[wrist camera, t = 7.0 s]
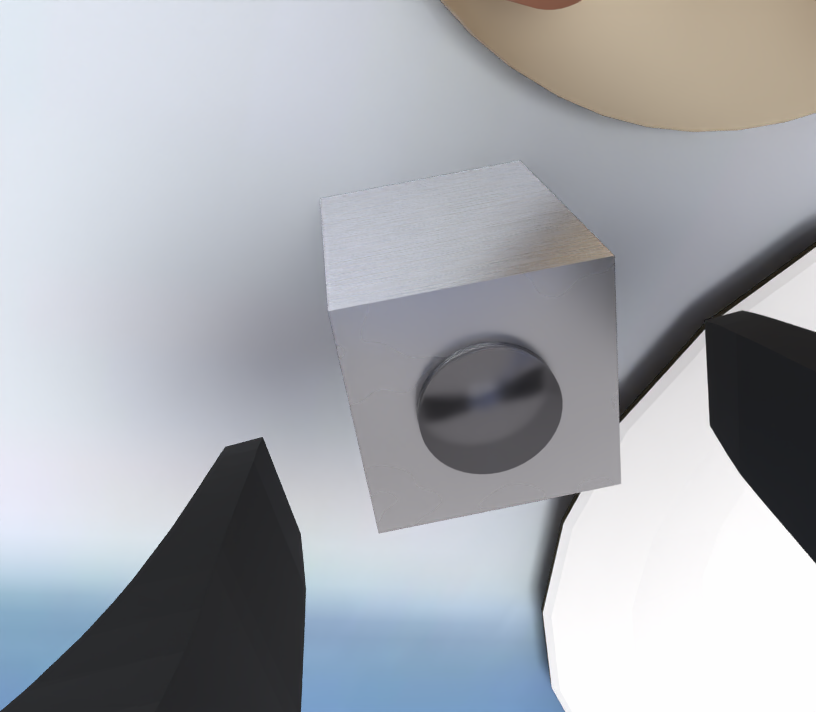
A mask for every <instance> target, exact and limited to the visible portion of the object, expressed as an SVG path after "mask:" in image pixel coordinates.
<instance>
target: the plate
mask: <svg viewBox="0 0 816 712" xmlns="http://www.w3.org/2000/svg"><path fill="white" fill-rule="evenodd" d="M741 310H743V311H748V312H752V313H756V314H760V315H763V316H767V317H770V318H774V319H777V320H780V321H783V322H786V323H790V324H793V325H796V326H799V327H802V328H805V329H808V330H811V331H814V332H816V242H815V243H814V244H812V245H811V246H810V247H808V248H807V249H806V250H804V251H803V252H801V253H800V254H799V255H797V256H796V257H795V258H793V259H792V260H791V261H789V262H788V263H786V264H785V265H784V266H782V267H781V268H780V269H778V270H777V271H775V272H774V273H773V274H771V275H770V276H769V277H767V278H766V279H765V280H763V281H762V282H760V283H759V284H758V285H756V286H755V287H754V288H752V289H751V290H749V291H748V292H747V293H745V294H744V295H743V296H741V297H740V298H738V299H737V300H736V301H734V302H733V303H732V304H730V305H729V306H728V307H726V308H725V309H723V310H722V311H721V312H719V313H718V314H717V315H715V316H714V317H712V318H715V317H719V316H722V315H726V314H730V313H734V312H737V311H741ZM619 425H620V459H621V484H619V485H614V486H609V487H604V488H599V489H595V490H590V491H585V492H580V493H576V495H575V497H574V498H573V500H572V502H571V504H570V506H569V508H568V509H567V511H566V513H565V515H564V517H563V518H562V521H561V526H560V530H559V534H558V539H557V543H556V548H555V552H554V556H553V561H552V565H551V569H550V574H549V578H548V582H547V587H546V591H545V595H544V600H543V604H542V616H543V624H544V633H545V641H546V649H547V657H548V665H549V674H550V682H551V685H552V689H553V691H554V692H555V694H556V696H557V698H558V699H559V701H560V703H561V705H562V706H563V708H564V710H565V712H816V563H815V562H814V561H813V560H812V559H811V558H810V556H809V555H808V554H807V553H806V552H805V551H804V549H803V548H802V547H801V546H800V545H799V544H798V542H797V541H796V540H795V539H794V538H793V537H792V535H791V534H790V533H789V532H788V531H787V530H786V528H785V527H784V526H783V525H782V524H781V523H780V521H779V520H778V519H777V518H776V517H775V516H774V514H773V513H772V512H771V511H770V510H769V508H768V507H767V506H766V505H765V504H764V503H763V501H762V500H761V499H760V498H759V497H758V495H757V494H756V493H755V492H754V491H753V489H752V488H751V487H750V486H749V485H748V483H747V482H746V481H745V480H744V478H743V477H742V476H741V475H740V473H739V472H738V470H737V469H736V467H735V466H734V464H733V463H732V461H731V460H730V458H729V456H728V455H727V453H726V452H725V450H724V448H723V447H722V445H721V443H720V442H719V440H718V438H717V437H716V435H715V434H714V432H713V430H712V429H711V427H710V422H709V401H708V381H707V360H706V340H705V324H704V325H703V326H702V327H701V328H700V329H699V330H698V331H697V333H696V334H695V335H694V336H693V337H692V338H691V339H690V340H689V341H688V343H687V344H686V345H685V346H684V347H683V348H682V349H681V350H680V351H679V352H678V354H677V355H676V356H675V357H674V358H673V359H672V360H671V361H670V362H669V363H668V365H667V366H666V367H665V368H664V369H663V370H662V371H661V372H660V373H659V375H658V376H657V377H656V378H655V379H654V380H653V381H652V382H651V383H650V384H649V386H648V387H647V388H646V389H645V390H644V391H643V392H642V393H641V394H640V396H639V397H638V398H637V399H636V400H635V401H634V402H633V403H632V404H631V405H630V407H629V408H628V409H627V410H626V411H625V412H624V413H623V414H622V415H621V417H620V418H619Z"/></svg>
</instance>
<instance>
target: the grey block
mask: <svg viewBox="0 0 816 712" xmlns="http://www.w3.org/2000/svg"><path fill="white" fill-rule="evenodd" d="M320 205H321V219H322V233H323V247H324V261H325V275H326V290H327V304H328V313H329V318H330V322H331V326H332V331H333V335H334V340H335V344H336V348H337V353H338V357H339V361H340V366H341V370H342V375H343V379H344V383H345V388H346V392H347V396H348V401H349V405H350V409H351V414H352V418H353V423H354V427H355V431H356V436H357V440H358V444H359V449H360V453H361V458H362V462H363V466H364V471H365V475H366V479H367V484H368V488H369V492H370V497H371V501H372V506H373V510H374V514H375V519H376V523H377V527H378V532H379V533H383V532H388V531H393V530H398V529H403V528H408V527H413V526H418V525H423V524H428V523H432V522H437V521H442V520H447V519H452V518H457V517H462V516H467V515H472V514H477V513H482V512H486V511H491V510H496V509H501V508H506V507H511V506H516V505H521V504H526V503H531V502H536V501H540V500H545V499H550V498H555V497H560V496H565V495H570V494H575V493H580V492H585V491H590V490H595V489H599V488H604V487H609V486H614V485H619V484H621V459H620V425H619V392H618V358H617V324H616V291H615V257H614V255H613V254H612V253H611V252H610V251H609V250H608V249H607V248H606V247H605V246H604V245H603V244H602V243H601V242H600V241H599V240H598V239H597V238H596V237H595V236H594V235H593V234H592V233H591V232H590V231H589V230H588V229H587V228H586V227H585V226H584V225H583V224H582V223H581V222H580V221H579V220H578V219H577V218H576V216H575V215H574V214H573V213H572V212H571V211H570V210H569V209H568V208H567V207H566V206H565V205H564V204H563V203H562V202H561V201H560V200H559V199H558V198H557V197H556V196H555V195H554V194H553V193H552V192H551V191H550V190H549V189H548V188H547V187H546V186H545V185H544V184H543V183H542V182H541V181H540V180H539V179H538V178H537V177H536V176H535V175H534V174H533V173H532V172H531V171H530V170H529V169H528V168H527V167H526V166H525V165H524V164H523V163H522V162H521V161H520V160H519V161H514V162H509V163H503V164H498V165H493V166H488V167H482V168H477V169H472V170H466V171H461V172H456V173H451V174H445V175H440V176H435V177H430V178H424V179H419V180H414V181H409V182H403V183H398V184H393V185H387V186H382V187H377V188H372V189H366V190H361V191H356V192H351V193H345V194H340V195H335V196H330V197H324V198H320Z"/></svg>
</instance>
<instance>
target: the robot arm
mask: <svg viewBox="0 0 816 712" xmlns="http://www.w3.org/2000/svg"><path fill="white" fill-rule="evenodd" d="M705 340H706V360H707V381H708V401H709V422H710V427H711V429H712V430H713V432H714V434H715V435H716V437H717V438H718V440H719V442H720V443H721V445H722V447H723V448H724V450H725V452H726V453H727V455H728V456H729V458H730V460H731V461H732V463H733V464H734V466H735V467H736V469H737V470H738V472H739V473H740V475H741V476H742V477H743V478H744V480H745V481H746V482H747V483H748V485H749V486H750V487H751V488H752V489H753V491H754V492H755V493H756V494H757V495H758V497H759V498H760V499H761V500H762V501H763V503H764V504H765V505H766V506H767V507H768V508H769V510H770V511H771V512H772V513H773V514H774V516H775V517H776V518H777V519H778V520H779V521H780V523H781V524H782V525H783V526H784V527H785V528H786V530H787V531H788V532H789V533H790V534H791V535H792V537H793V538H794V539H795V540H796V541H797V542H798V544H799V545H800V546H801V547H802V548H803V549H804V551H805V552H806V553H807V554H808V555H809V556H810V558H811V559H812V560H813V561H814V562H815V563H816V332H814V331H811V330H808V329H805V328H802V327H799V326H796V325H793V324H790V323H786V322H783V321H780V320H777V319H774V318H770V317H767V316H763V315H760V314H756V313H752V312H748V311H743V310H741V311H737V312H734V313H730V314H726V315H722V316H719V317H715V318H711V319H707V320H705ZM305 599H306V586H305V574H304V562H303V552H302V543H301V533H300V531H299V528H298V526H297V523H296V521H295V518H294V516H293V513H292V511H291V508H290V505H289V503H288V500H287V498H286V495H285V493H284V490H283V488H282V485H281V482H280V480H279V477H278V475H277V472H276V470H275V467H274V465H273V462H272V459H271V457H270V454H269V452H268V449H267V447H266V444H265V442H264V439H263V437H261V438H257V439H253V440H250V441H246V442H242V443H238V444H235V445H231V446H227V447H225V448H224V450H223V451H222V453H221V454H220V455H219V457H218V458H217V460H216V462H215V463H214V465H213V466H212V468H211V469H210V471H209V472H208V474H207V475H206V477H205V479H204V480H203V482H202V483H201V485H200V486H199V488H198V489H197V491H196V492H195V494H194V495H193V497H192V498H191V500H190V501H189V503H188V504H187V506H186V507H185V509H184V510H183V512H182V513H181V515H180V516H179V518H178V519H177V521H176V522H175V524H174V525H173V527H172V528H171V529H170V531H169V532H168V534H167V535H166V536H165V537H164V539H163V540H162V541H161V543H160V544H159V545H158V547H157V548H156V549H155V551H154V552H153V553H152V555H151V556H150V557H149V559H148V560H147V561H146V563H145V564H144V565H143V567H142V568H141V569H140V571H139V572H138V573H137V575H136V576H135V577H134V578H133V580H132V581H131V582H130V583H129V584H128V586H127V587H126V588H125V589H124V590H123V592H122V593H121V594H120V595H119V596H118V597H117V599H116V600H115V601H114V602H113V603H112V604H111V605H110V606H109V608H108V609H107V610H106V611H105V612H104V613H103V614H102V615H101V616H100V617H99V618H98V620H97V621H96V622H95V623H94V624H93V625H92V626H91V627H90V628H89V629H88V630H87V631H86V632H85V633H84V634H83V636H82V637H81V638H80V639H79V640H78V641H76V642H75V643H74V644H73V645H72V646H71V647H70V648H69V649H68V650H67V651H66V652H65V653H64V654H63V655H62V656H61V657H60V658H59V659H58V660H57V661H55V662H54V663H53V664H52V665H51V666H50V667H49V668H48V669H47V670H46V671H45V672H44V673H43V674H42V675H41V676H40V677H39V678H38V679H37V680H36V681H34V682H33V683H32V684H31V685H30V686H29V687H28V688H27V689H26V690H25V691H23V692H22V693H21V694H20V695H19V696H18V697H16V698H15V699H14V700H13V701H12V702H11V703H9V704H8V705H7V706H6V707H5V708H4V709H2V710H1V711H0V712H301V697H302V674H303V651H304V627H305Z"/></svg>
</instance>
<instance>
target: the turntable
mask: <svg viewBox="0 0 816 712" xmlns="http://www.w3.org/2000/svg"><path fill="white" fill-rule="evenodd" d="M440 1H441V2H442V3H443V4H444V5H445V6H446V7H447V9H448V10H449V11H450V12H451V13H452V14H453V15H454V16H455V17H456V19H457V20H458V21H459V22H460V23H461V24H462V25H463V26H464V27H465V28H466V30H467V31H468V32H469V33H470V34H471V35H472V36H473V37H475V38H476V39H477V40H478V41H479V42H481V43H482V44H483V45H484V46H485V47H487V48H488V49H489V50H490V51H491V52H493V53H494V54H495V55H496V56H497V57H499V58H500V59H501V60H502V61H503V62H505V63H506V64H507V65H508V66H510V67H511V68H513V69H515V70H516V71H518V72H519V73H521V74H523V75H524V76H526V77H527V78H529V79H531V80H532V81H534V82H536V83H537V84H539V85H540V86H542V87H544V88H545V89H547V90H549V91H550V92H552V93H554V94H555V95H557V96H559V97H561V98H563V99H565V100H568V101H570V102H572V103H575V104H577V105H579V106H582V107H584V108H586V109H589V110H591V111H593V112H596V113H598V114H600V115H603V116H607V117H611V118H614V119H618V120H622V121H626V122H630V123H634V124H638V125H641V126H645V127H652V128H661V129H671V130H680V131H689V132H702V131H730V130H743V129H748V128H754V127H760V126H766V125H772V124H777V123H783V122H787V121H791V120H794V119H797V118H800V117H804V116H807V115H810V114H813V113H816V0H440Z"/></svg>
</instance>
